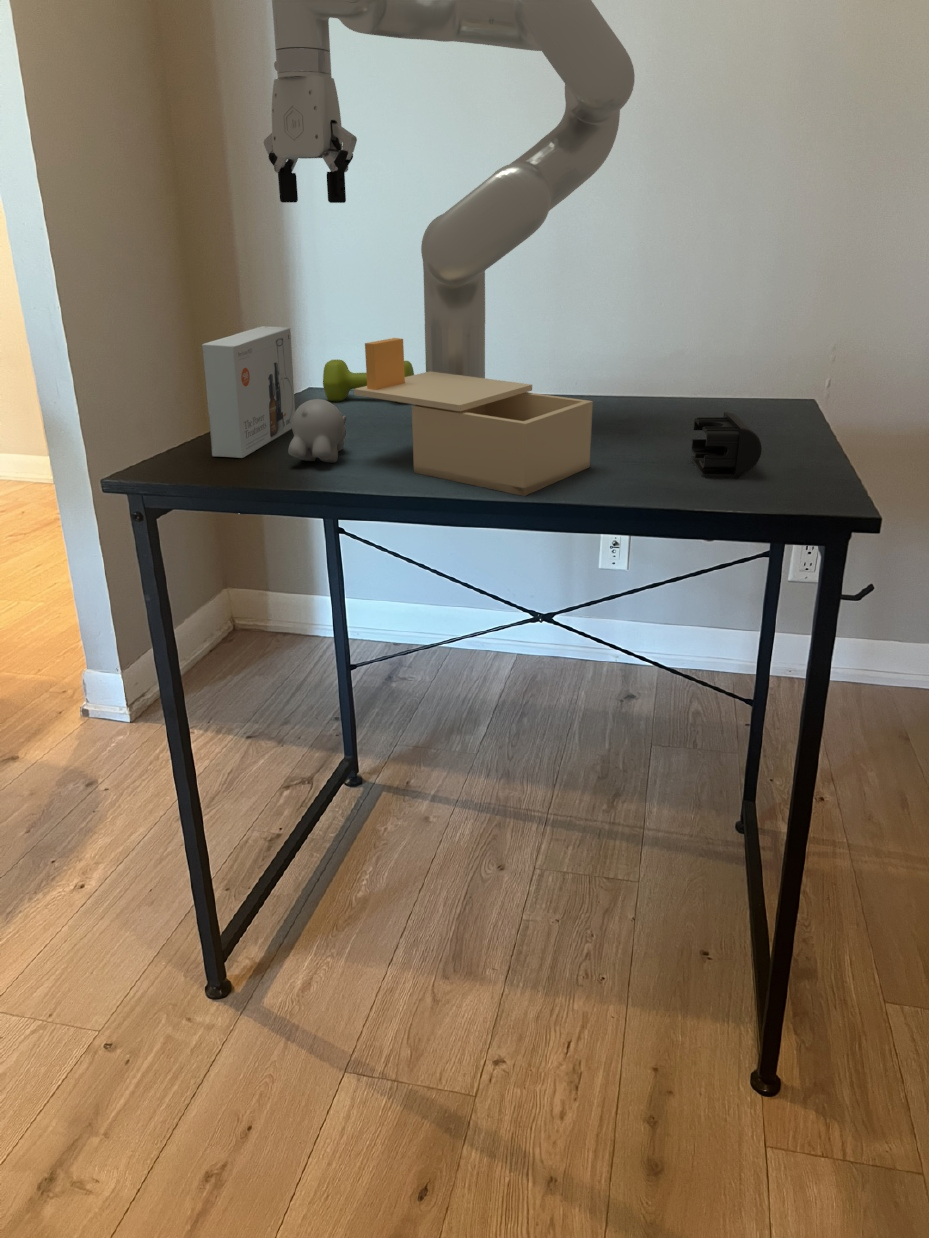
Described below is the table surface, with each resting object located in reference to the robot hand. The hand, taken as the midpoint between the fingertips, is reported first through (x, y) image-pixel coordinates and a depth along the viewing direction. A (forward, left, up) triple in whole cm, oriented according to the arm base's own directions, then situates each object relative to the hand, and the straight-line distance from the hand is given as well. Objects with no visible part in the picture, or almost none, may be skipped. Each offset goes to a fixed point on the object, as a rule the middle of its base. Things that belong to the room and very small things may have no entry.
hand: (312, 202), depth 131 cm
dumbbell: (-19, -8, -34) cm, 39 cm away
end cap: (-13, +62, -34) cm, 72 cm away
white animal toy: (+15, +14, -34) cm, 39 cm away
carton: (+5, +38, -33) cm, 51 cm away
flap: (+5, +28, -24) cm, 37 cm away
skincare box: (+13, -2, -34) cm, 36 cm away
